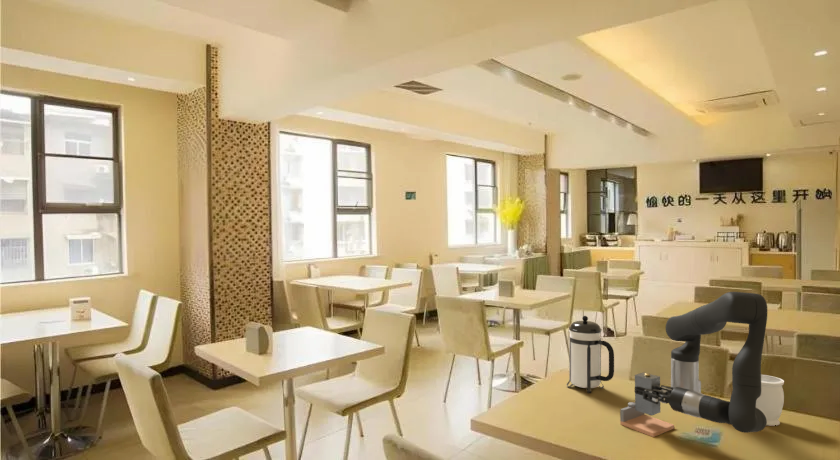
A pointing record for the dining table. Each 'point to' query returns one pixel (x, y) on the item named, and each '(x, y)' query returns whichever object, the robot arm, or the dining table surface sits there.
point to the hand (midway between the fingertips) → (640, 388)
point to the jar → (771, 399)
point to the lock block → (647, 383)
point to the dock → (643, 421)
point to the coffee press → (587, 355)
